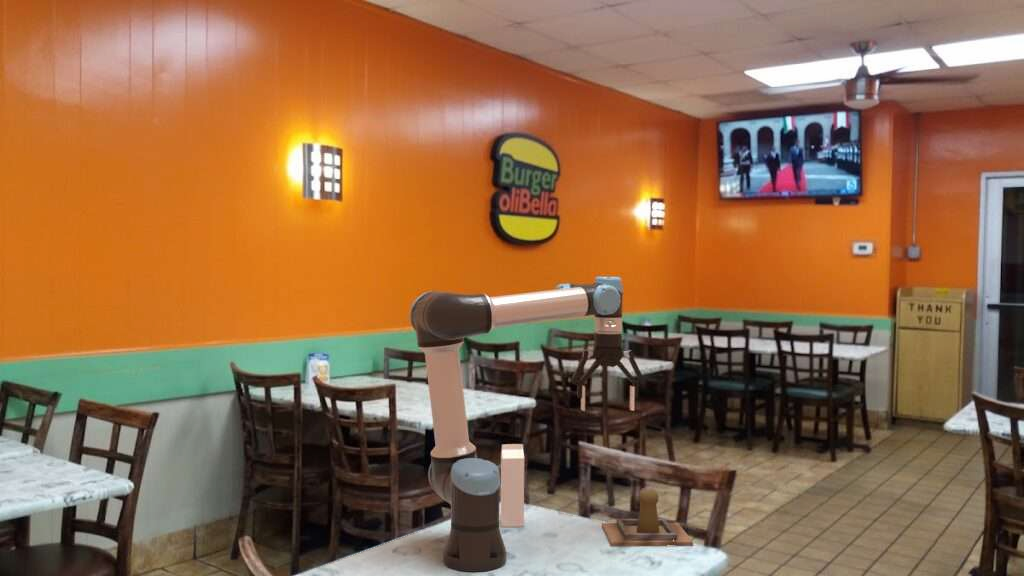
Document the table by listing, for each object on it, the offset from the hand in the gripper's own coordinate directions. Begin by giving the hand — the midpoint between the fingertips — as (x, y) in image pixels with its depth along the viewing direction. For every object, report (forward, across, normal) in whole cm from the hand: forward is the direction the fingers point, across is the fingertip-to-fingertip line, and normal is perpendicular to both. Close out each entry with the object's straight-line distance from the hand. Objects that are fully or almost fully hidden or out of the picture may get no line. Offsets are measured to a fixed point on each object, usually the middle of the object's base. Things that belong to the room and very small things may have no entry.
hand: (607, 409), depth 226 cm
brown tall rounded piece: (+31, +10, -10) cm, 34 cm away
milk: (+32, -26, +1) cm, 41 cm away
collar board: (+32, +9, -10) cm, 34 cm away
